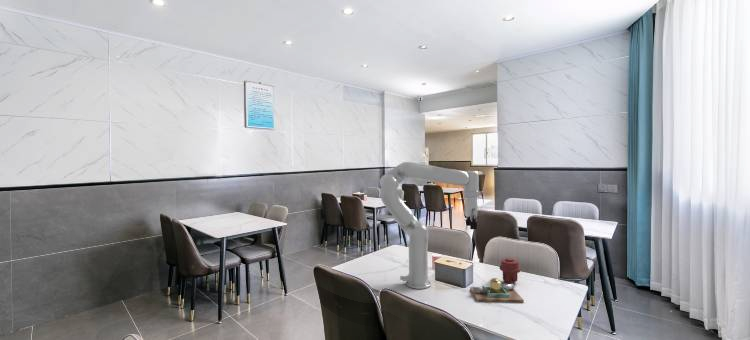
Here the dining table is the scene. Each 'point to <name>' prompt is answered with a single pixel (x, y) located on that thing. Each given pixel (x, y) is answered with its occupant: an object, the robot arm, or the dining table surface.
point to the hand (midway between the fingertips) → (471, 227)
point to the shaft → (508, 287)
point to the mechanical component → (510, 270)
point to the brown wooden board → (495, 295)
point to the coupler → (495, 285)
